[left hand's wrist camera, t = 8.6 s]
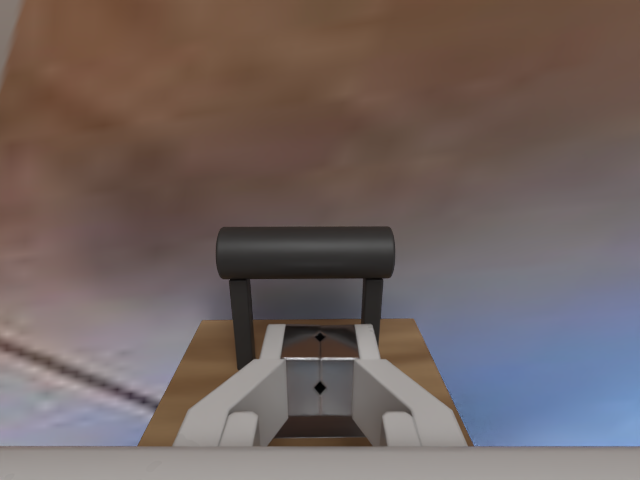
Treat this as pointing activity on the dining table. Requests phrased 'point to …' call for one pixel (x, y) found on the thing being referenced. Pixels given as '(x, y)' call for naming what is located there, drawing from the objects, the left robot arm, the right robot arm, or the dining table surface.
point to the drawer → (248, 335)
